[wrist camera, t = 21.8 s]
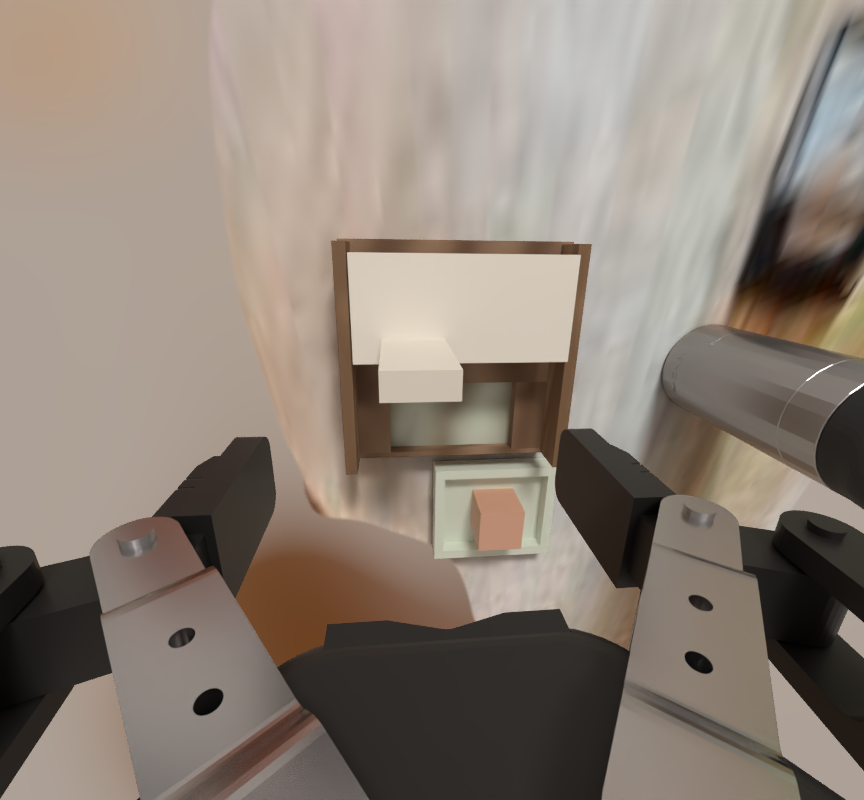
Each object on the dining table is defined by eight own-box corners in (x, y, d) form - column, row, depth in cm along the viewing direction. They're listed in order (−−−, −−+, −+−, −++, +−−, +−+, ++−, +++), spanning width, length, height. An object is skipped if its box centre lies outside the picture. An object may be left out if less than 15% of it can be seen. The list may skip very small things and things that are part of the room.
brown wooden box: (560, 242, 39) (592, 241, 33) (539, 439, 46) (562, 468, 40) (340, 239, 37) (331, 237, 31) (352, 444, 44) (346, 476, 38)
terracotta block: (512, 488, 47) (525, 511, 43) (509, 522, 48) (521, 548, 44) (472, 489, 46) (480, 513, 42) (470, 524, 48) (478, 551, 44)
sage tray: (550, 457, 47) (558, 467, 45) (541, 539, 50) (547, 552, 48) (433, 461, 46) (435, 471, 43) (432, 545, 49) (434, 559, 47)
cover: (576, 254, 33) (648, 257, 24) (563, 359, 36) (623, 398, 27) (348, 252, 32) (330, 254, 22) (353, 362, 34) (340, 404, 25)
